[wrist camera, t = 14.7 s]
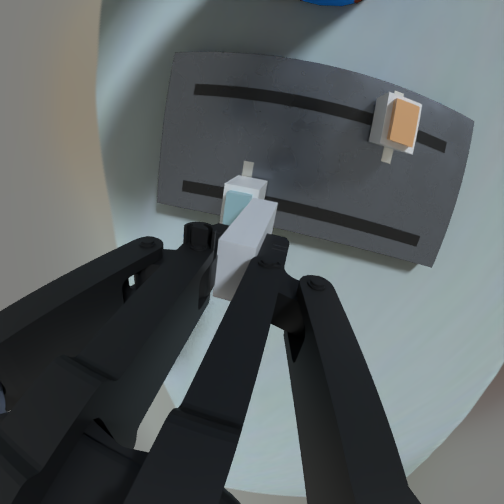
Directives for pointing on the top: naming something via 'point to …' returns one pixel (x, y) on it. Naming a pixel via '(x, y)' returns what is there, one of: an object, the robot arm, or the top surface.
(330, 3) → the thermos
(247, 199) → the fader
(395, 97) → the fader
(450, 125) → the console
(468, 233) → the top surface
